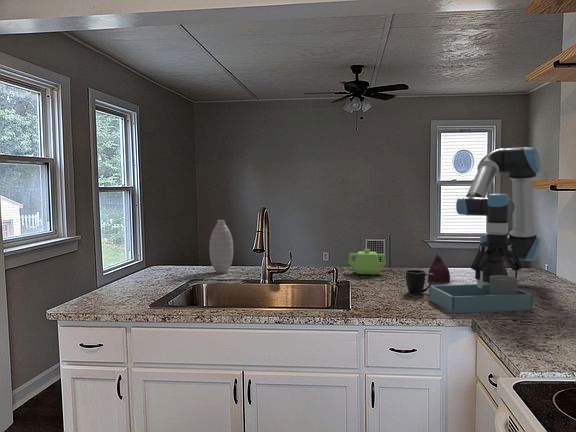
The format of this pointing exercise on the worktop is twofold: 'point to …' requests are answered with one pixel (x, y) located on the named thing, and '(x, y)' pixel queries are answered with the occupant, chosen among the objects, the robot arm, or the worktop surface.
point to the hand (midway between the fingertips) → (495, 287)
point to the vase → (221, 247)
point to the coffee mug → (503, 285)
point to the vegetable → (439, 271)
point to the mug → (416, 281)
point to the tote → (477, 299)
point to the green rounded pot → (367, 262)
